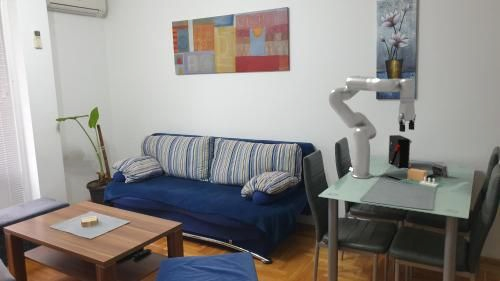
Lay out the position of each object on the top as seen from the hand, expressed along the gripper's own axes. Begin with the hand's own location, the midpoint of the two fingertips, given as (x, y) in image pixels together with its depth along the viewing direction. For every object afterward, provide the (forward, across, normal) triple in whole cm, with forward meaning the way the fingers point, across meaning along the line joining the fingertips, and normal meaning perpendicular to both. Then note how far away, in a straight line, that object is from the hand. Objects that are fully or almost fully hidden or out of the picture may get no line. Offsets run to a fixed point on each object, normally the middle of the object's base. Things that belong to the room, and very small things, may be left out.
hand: (406, 130), depth 223 cm
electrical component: (+31, -37, -27) cm, 55 cm away
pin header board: (+32, -5, +7) cm, 33 cm away
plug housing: (+30, -8, +2) cm, 31 cm away
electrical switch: (+32, -25, +8) cm, 41 cm away
